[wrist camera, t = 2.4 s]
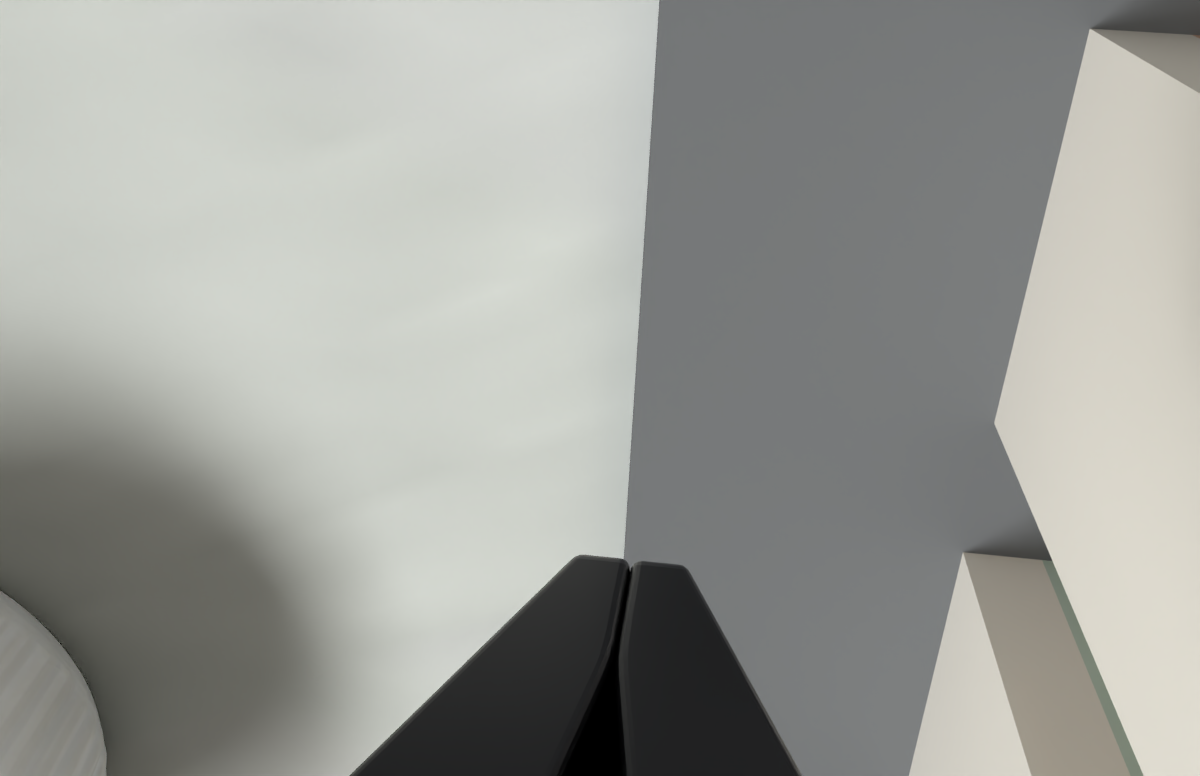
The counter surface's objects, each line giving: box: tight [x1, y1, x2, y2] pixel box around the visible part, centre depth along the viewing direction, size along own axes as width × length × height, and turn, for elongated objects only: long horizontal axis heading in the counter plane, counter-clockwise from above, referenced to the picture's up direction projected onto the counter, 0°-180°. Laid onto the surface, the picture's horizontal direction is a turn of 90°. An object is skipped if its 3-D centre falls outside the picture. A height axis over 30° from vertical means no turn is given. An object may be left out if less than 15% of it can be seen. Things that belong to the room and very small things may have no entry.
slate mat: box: [624, 0, 1200, 776], centre depth 18 cm, size 16×18×1 cm
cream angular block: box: [994, 29, 1200, 776], centre depth 12 cm, size 2×6×8 cm, turn 178°
